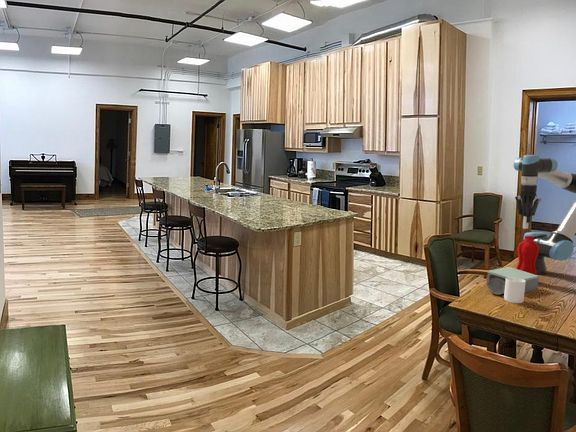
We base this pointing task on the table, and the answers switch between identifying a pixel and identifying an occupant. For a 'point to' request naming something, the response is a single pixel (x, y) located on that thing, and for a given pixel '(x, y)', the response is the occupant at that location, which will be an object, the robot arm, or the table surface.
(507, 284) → the cup
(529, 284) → the grey long flat pieces
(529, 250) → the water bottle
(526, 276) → the lid
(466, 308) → the table surface
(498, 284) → the mug
